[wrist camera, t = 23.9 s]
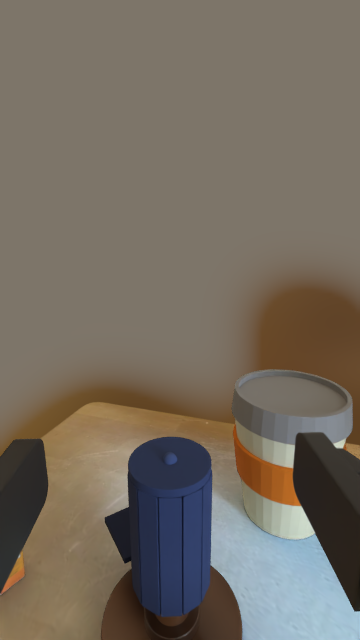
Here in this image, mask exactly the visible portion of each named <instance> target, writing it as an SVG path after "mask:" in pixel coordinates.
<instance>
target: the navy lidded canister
mask: <svg viewBox="0 0 360 640" xmlns="http://www.w3.org/2000/svg"><path fill="white" fill-rule="evenodd" d="M128 496H129V507H128V508H125V509H123V510H121V511H119V512H116V513H114V514H112V515H110V516H107V517H105V523H106V525H107V527H108V530H109V532H110V534H111V536H112V538H113V540H114V542H115V544H116V546H117V548H118V550H119V553H120V555H121V557H122V559H123V561H124V563H125V564H126V563H127V562H129V561H131V563H132V585H133V589H134V591H135V593H136V595H137V597H138V599H139V602H140V604H142V606H143V607H145V608H146V609H148V610H150V611H151V612H153V613H155V614H156V615H158V616H160V614H161V617H173V616H182V613H183V615H185V614H187V613H188V612H190V611H191V610H192V609H194V608H195V607H197V606H198V605H200V604H201V602H202V601H203V599H204V596H205V594H206V592H207V590H208V587H209V585H210V560H211V510H212V470H211V458H210V455H209V453H208V452H207V450H206V449H205V448H204V447H203V446H201V445H200V444H198V443H196V442H194V441H192V440H189V439H185V438H180V437H162V438H157V439H153V440H150V441H148V442H146V443H144V444H142V445H140V446H139V447H138V448H136V449H135V450H134V452H133V453H132V454H131V456H130V458H129V462H128Z"/></svg>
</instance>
